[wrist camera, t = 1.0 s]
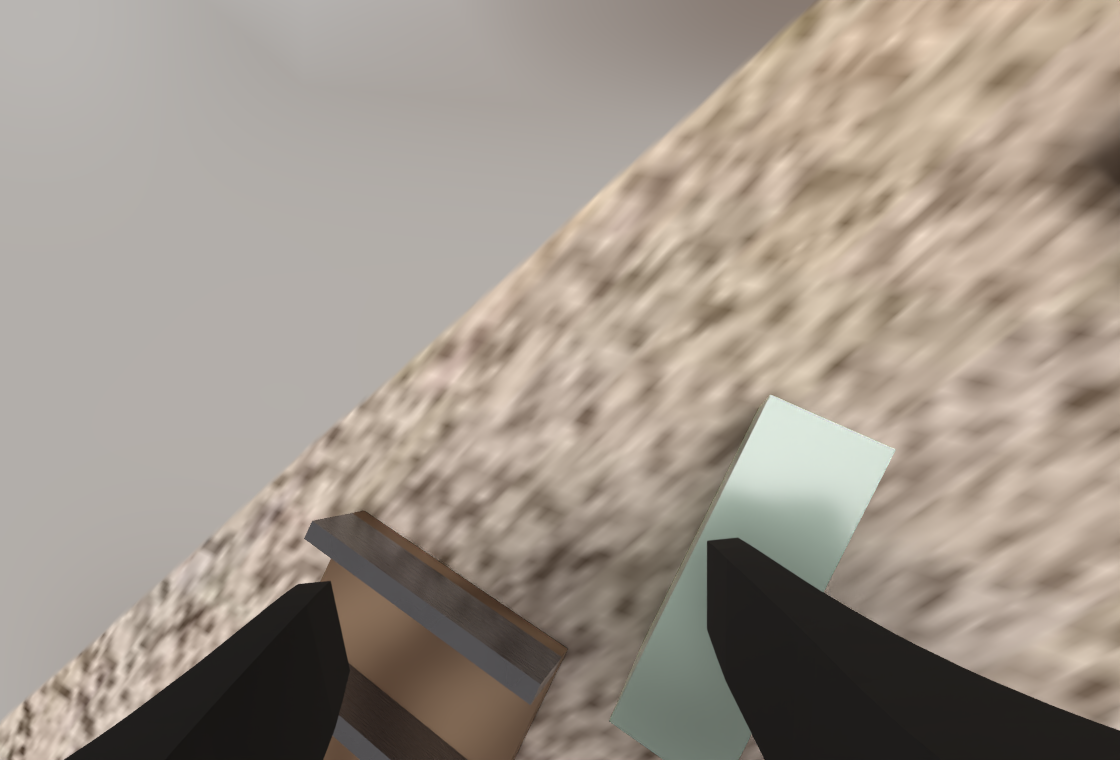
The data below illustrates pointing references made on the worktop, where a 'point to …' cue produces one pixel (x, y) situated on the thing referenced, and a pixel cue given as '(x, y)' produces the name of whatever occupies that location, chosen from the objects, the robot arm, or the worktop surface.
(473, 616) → the rack
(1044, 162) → the worktop surface
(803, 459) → the tall sage green block
